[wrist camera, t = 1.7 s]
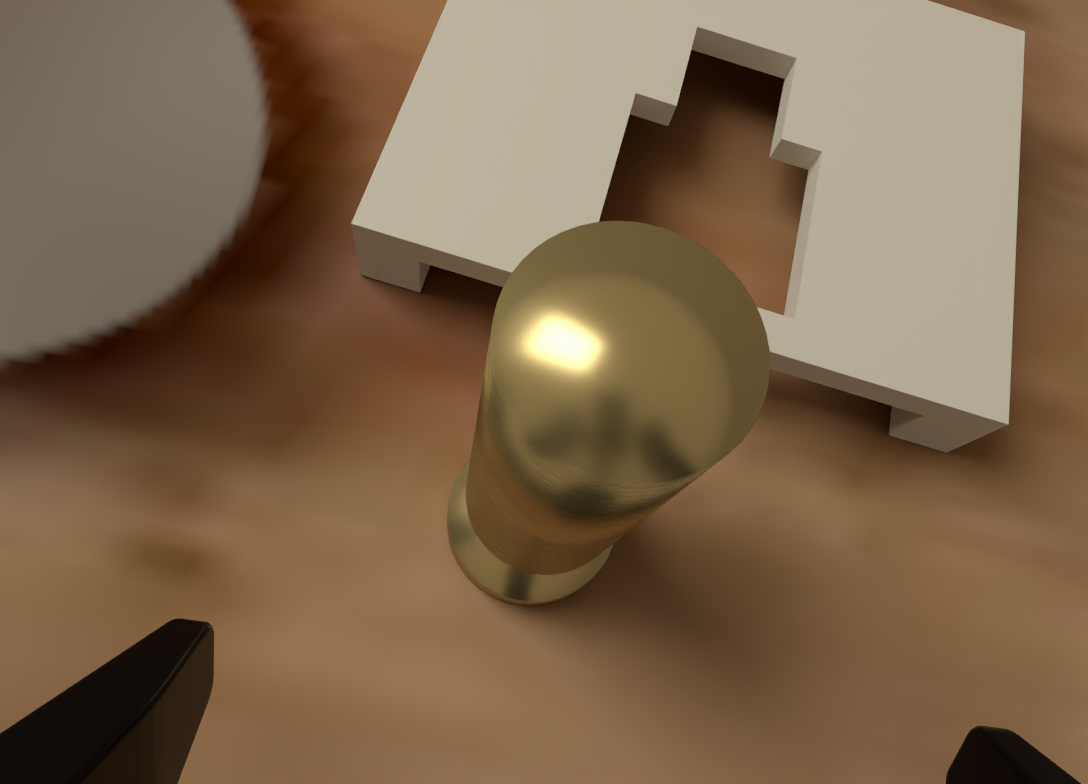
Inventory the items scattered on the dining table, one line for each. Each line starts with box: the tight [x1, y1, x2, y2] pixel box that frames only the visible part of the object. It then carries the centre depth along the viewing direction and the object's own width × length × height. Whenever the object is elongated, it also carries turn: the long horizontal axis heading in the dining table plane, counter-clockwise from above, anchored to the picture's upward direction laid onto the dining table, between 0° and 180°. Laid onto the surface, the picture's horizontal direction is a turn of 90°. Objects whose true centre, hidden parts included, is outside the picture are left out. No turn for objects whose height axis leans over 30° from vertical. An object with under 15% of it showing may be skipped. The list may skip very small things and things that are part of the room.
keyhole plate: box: [351, 0, 1025, 453], centre depth 27 cm, size 16×20×3 cm
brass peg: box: [447, 221, 770, 606], centre depth 17 cm, size 5×5×13 cm
